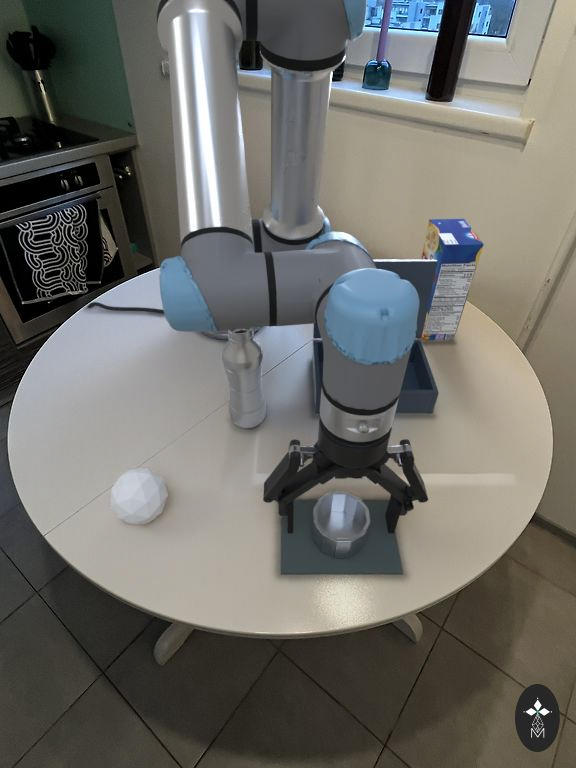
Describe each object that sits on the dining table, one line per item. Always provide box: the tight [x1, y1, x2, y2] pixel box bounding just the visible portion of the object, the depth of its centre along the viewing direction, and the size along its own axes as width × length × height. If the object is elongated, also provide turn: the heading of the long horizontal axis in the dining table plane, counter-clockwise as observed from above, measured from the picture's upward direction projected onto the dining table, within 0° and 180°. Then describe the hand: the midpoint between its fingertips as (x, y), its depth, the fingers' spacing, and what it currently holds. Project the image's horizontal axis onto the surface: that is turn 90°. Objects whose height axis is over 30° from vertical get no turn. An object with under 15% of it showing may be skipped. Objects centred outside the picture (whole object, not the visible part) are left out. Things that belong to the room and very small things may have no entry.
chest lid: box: [312, 259, 438, 339], centre depth 81 cm, size 15×21×1 cm
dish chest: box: [311, 339, 440, 414], centre depth 83 cm, size 15×21×6 cm
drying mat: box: [280, 499, 404, 575], centre depth 63 cm, size 16×11×1 cm
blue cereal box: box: [420, 218, 485, 342], centre depth 91 cm, size 7×11×22 cm, turn 2°
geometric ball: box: [109, 467, 169, 525], centre depth 64 cm, size 8×8×8 cm
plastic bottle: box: [221, 328, 268, 429], centre depth 72 cm, size 6×7×20 cm
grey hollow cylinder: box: [312, 490, 370, 558], centre depth 61 cm, size 7×7×5 cm
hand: (339, 524), depth 61 cm, fingers open, 13 cm apart
